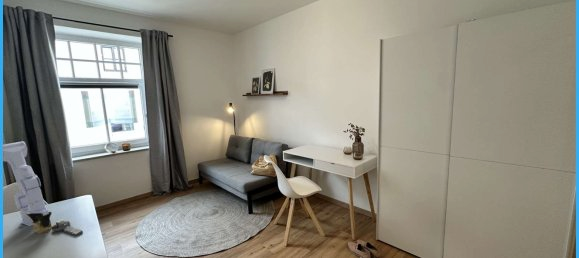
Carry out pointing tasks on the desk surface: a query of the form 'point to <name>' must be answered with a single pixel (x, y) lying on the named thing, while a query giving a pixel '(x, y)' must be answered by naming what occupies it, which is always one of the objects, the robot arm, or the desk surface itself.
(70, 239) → the desk surface
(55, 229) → the ratchet
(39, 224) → the brushed gold cube
